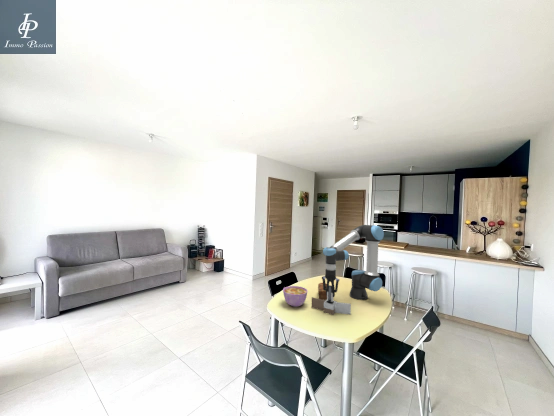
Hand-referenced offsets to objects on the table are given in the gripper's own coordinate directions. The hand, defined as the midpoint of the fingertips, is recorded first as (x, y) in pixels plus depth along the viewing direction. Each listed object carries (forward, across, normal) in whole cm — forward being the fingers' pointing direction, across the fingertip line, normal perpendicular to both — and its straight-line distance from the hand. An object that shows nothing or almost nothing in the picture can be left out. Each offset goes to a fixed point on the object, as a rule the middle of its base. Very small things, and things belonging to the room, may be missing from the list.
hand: (330, 300), depth 162 cm
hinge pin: (+4, 0, 0) cm, 4 cm away
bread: (+9, -14, +27) cm, 32 cm away
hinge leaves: (+9, 0, +1) cm, 9 cm away
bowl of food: (+9, -28, -3) cm, 30 cm away
